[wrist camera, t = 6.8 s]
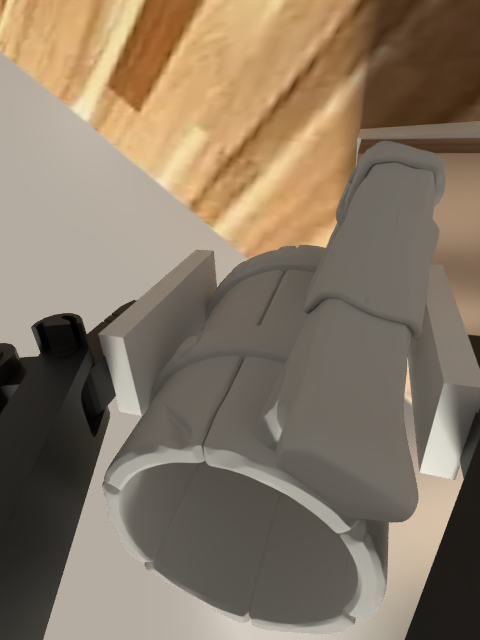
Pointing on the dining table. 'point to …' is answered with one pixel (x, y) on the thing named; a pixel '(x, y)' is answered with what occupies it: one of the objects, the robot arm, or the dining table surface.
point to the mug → (291, 417)
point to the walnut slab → (455, 219)
